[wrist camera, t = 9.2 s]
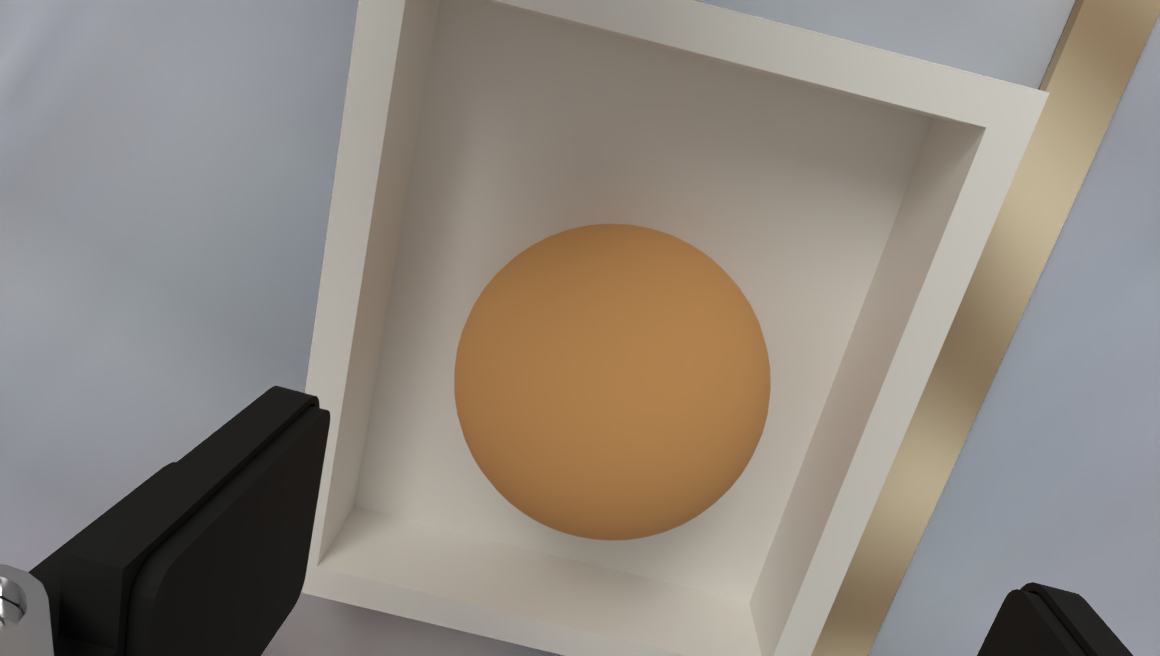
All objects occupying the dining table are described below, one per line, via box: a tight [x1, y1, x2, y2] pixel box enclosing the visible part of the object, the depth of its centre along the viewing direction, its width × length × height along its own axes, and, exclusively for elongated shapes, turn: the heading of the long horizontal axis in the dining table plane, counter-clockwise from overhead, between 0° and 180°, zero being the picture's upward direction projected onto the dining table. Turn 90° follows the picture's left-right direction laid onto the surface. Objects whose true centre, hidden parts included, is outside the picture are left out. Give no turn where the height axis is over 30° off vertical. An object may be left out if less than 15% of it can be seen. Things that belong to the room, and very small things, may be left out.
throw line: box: [811, 0, 1160, 656], centre depth 18 cm, size 20×2×1 cm, turn 167°
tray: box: [301, 0, 1049, 656], centre depth 17 cm, size 14×12×3 cm
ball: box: [454, 224, 771, 541], centre depth 15 cm, size 6×6×6 cm
